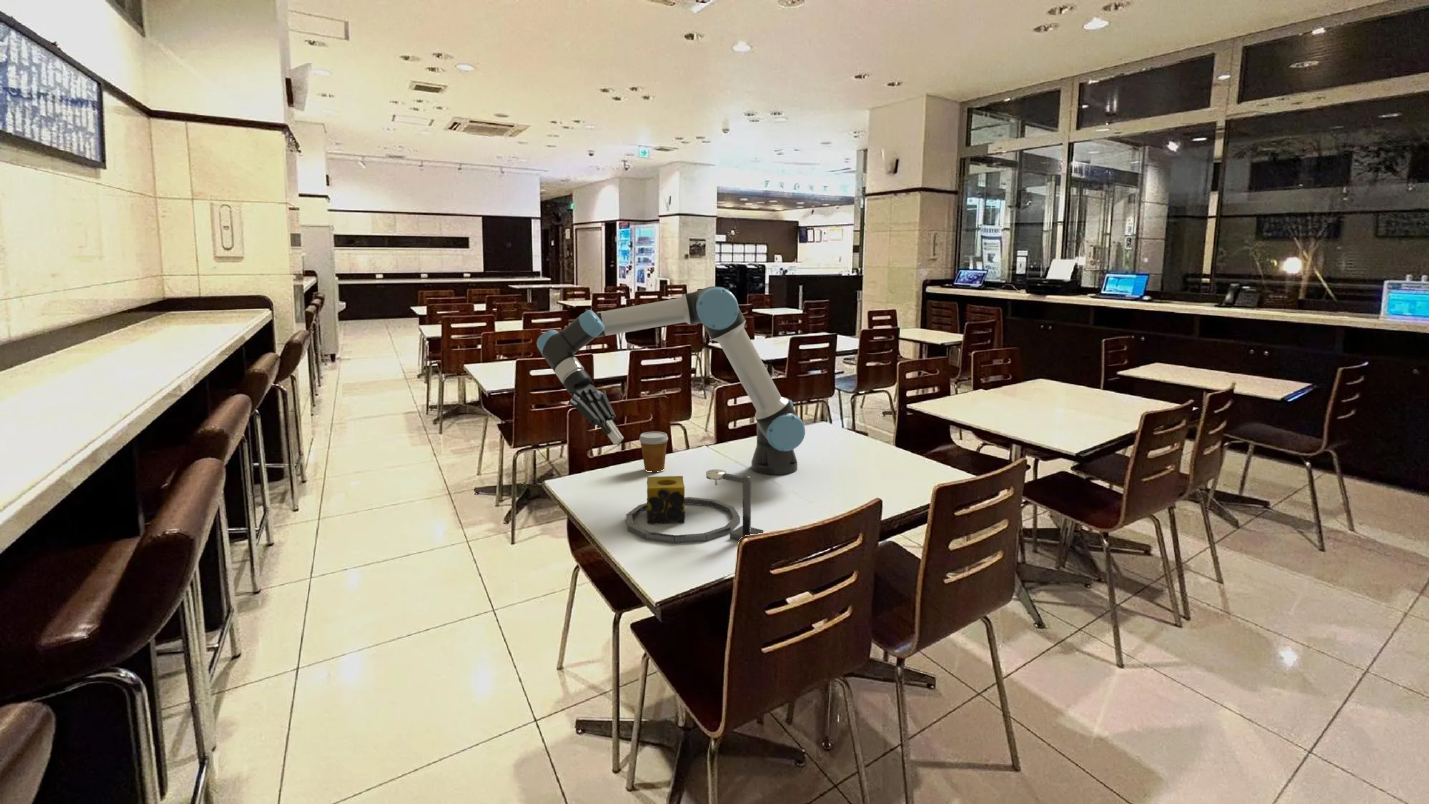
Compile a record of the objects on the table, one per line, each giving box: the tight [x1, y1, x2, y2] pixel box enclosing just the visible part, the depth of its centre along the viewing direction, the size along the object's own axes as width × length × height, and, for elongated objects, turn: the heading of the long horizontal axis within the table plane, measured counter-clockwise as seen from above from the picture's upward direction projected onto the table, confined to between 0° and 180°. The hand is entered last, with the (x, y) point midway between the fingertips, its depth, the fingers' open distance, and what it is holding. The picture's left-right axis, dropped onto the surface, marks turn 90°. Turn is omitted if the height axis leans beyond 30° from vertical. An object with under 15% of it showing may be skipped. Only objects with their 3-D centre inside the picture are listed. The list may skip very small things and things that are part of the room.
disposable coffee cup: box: [638, 431, 669, 472], centre depth 225 cm, size 10×10×12 cm
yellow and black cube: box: [646, 475, 686, 525], centre depth 182 cm, size 10×10×10 cm
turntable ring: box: [625, 496, 741, 544], centre depth 180 cm, size 29×29×2 cm
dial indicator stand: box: [705, 468, 765, 542], centre depth 170 cm, size 14×6×16 cm, turn 55°
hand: (619, 441), depth 191 cm, fingers closed
